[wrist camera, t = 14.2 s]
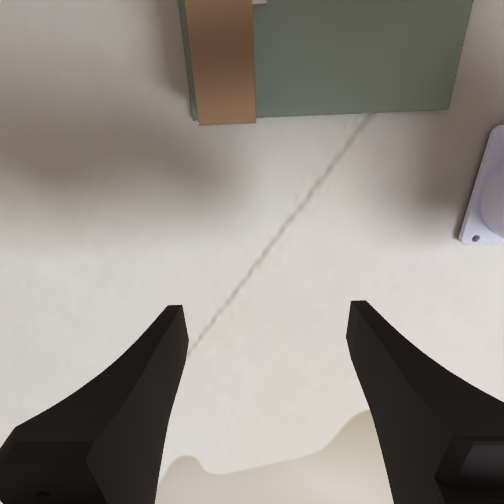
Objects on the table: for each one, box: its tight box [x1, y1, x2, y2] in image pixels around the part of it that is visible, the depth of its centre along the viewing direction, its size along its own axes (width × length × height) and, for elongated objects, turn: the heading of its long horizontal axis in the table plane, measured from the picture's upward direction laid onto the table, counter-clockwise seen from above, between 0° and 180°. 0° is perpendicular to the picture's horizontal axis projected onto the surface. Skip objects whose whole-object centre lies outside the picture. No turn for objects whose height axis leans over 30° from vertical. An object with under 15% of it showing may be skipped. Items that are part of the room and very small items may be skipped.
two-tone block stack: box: [185, 0, 266, 125], centre depth 15 cm, size 9×4×5 cm, turn 2°
